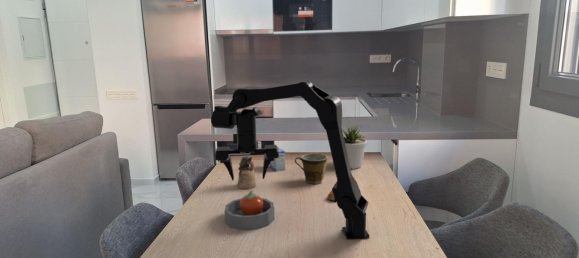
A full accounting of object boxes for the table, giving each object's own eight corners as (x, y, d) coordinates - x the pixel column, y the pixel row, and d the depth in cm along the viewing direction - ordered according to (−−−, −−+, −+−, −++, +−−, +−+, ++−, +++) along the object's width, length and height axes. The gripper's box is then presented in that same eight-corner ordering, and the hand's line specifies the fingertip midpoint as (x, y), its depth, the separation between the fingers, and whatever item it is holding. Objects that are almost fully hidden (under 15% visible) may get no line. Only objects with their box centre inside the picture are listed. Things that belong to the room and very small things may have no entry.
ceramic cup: (329, 178, 158) (330, 154, 156) (323, 187, 149) (323, 161, 147) (299, 175, 163) (299, 152, 160) (291, 183, 153) (290, 158, 151)
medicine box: (269, 166, 175) (268, 147, 173) (278, 165, 177) (278, 146, 175) (276, 171, 168) (275, 152, 166) (285, 170, 170) (285, 150, 168)
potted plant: (329, 165, 175) (329, 121, 171) (354, 160, 182) (355, 117, 177) (346, 172, 165) (346, 126, 160) (372, 167, 171) (373, 122, 167)
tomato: (265, 210, 127) (264, 187, 125) (261, 220, 119) (260, 196, 118) (242, 209, 127) (241, 186, 126) (237, 220, 120) (236, 195, 118)
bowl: (275, 228, 117) (275, 215, 116) (224, 231, 115) (223, 218, 115) (272, 207, 131) (272, 196, 131) (227, 209, 130) (226, 198, 129)
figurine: (246, 181, 156) (245, 152, 154) (260, 184, 152) (259, 155, 150) (234, 187, 151) (232, 157, 148) (248, 190, 147) (247, 159, 144)
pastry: (338, 204, 134) (338, 193, 133) (323, 199, 138) (322, 189, 137) (354, 196, 140) (354, 186, 139) (339, 191, 145) (339, 181, 144)
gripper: (275, 123, 126) (276, 169, 129) (216, 125, 124) (219, 172, 128) (278, 130, 115) (279, 181, 119) (213, 133, 113) (216, 184, 117)
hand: (248, 179), depth 121 cm, fingers open, 9 cm apart
